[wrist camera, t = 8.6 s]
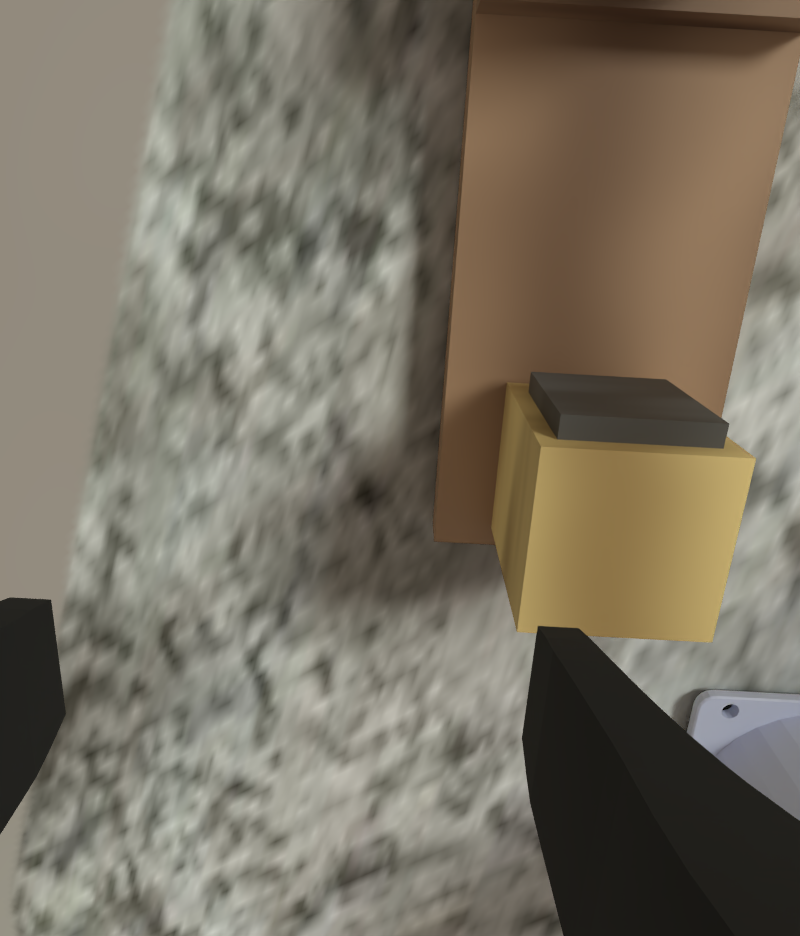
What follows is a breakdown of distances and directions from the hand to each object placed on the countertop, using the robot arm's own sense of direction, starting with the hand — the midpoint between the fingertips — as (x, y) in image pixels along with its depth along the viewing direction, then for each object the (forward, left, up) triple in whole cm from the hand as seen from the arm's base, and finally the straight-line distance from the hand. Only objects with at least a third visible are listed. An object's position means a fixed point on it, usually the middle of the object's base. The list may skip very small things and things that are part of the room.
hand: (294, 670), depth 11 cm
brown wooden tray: (-6, -8, -10) cm, 14 cm away
